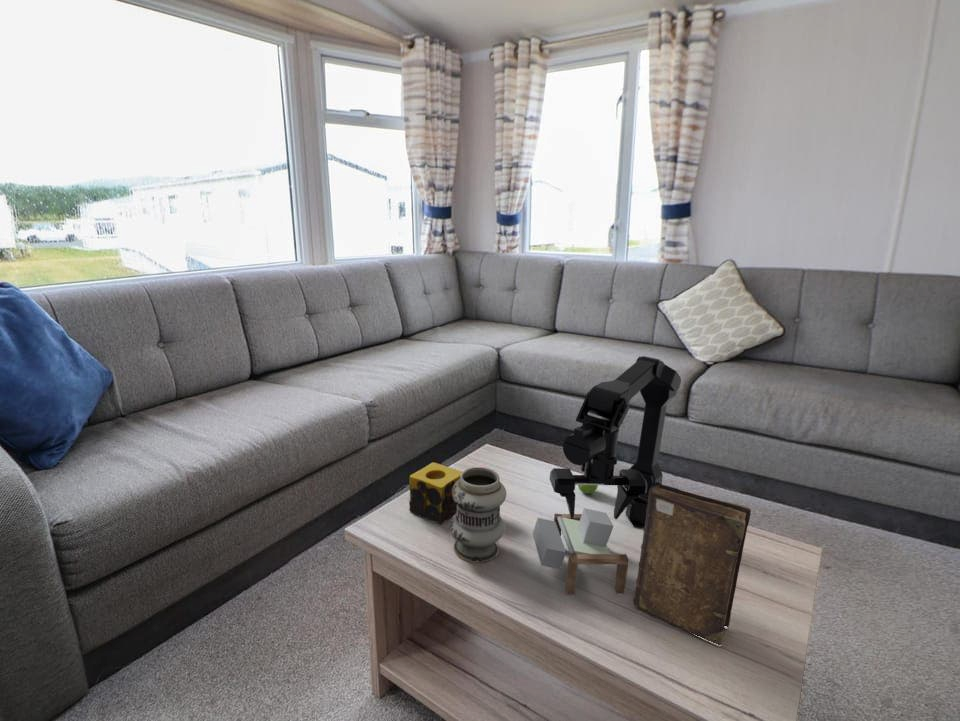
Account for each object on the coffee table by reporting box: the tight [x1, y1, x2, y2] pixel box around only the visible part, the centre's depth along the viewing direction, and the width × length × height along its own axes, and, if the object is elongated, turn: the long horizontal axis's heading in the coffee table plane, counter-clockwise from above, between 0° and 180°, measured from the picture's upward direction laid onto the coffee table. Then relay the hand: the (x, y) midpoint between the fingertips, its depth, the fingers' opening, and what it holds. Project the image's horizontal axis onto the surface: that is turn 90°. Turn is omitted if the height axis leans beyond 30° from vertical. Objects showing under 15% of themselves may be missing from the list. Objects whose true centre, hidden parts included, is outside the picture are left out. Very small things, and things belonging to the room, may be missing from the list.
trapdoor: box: [532, 516, 612, 570], centre depth 110 cm, size 14×12×5 cm
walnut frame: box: [553, 513, 630, 595], centre depth 110 cm, size 12×16×8 cm
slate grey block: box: [577, 508, 614, 547], centre depth 109 cm, size 5×5×5 cm
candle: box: [408, 462, 463, 525], centre depth 130 cm, size 10×10×10 cm
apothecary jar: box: [449, 466, 507, 563], centre depth 114 cm, size 12×12×18 cm
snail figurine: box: [577, 473, 599, 495], centre depth 142 cm, size 5×6×12 cm
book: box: [632, 484, 752, 646], centre depth 95 cm, size 17×7×25 cm, turn 51°
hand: (593, 518), depth 108 cm, fingers open, 9 cm apart
